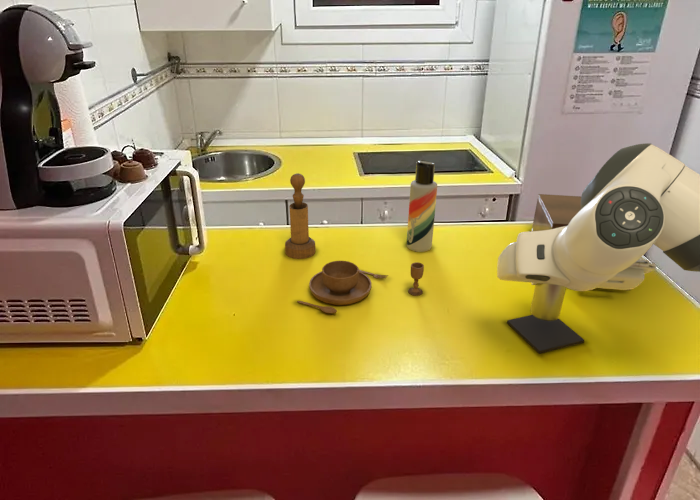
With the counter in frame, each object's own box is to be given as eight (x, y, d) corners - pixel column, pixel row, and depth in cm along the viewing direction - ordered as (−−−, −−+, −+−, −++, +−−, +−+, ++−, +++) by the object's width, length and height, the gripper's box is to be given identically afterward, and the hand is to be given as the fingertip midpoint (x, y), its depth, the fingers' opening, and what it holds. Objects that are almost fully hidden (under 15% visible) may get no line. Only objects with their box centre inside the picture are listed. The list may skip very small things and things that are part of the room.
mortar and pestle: (290, 261, 110) (286, 181, 102) (281, 248, 116) (276, 171, 107) (319, 255, 113) (318, 177, 105) (309, 243, 118) (307, 167, 110)
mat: (548, 313, 94) (549, 310, 94) (584, 342, 86) (584, 339, 86) (506, 323, 91) (506, 320, 91) (539, 354, 84) (539, 351, 84)
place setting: (338, 263, 110) (338, 238, 107) (426, 289, 101) (428, 262, 98) (289, 303, 96) (287, 275, 94) (385, 336, 87) (387, 307, 85)
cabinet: (616, 269, 109) (628, 228, 104) (544, 264, 110) (553, 223, 106) (594, 235, 123) (604, 197, 119) (531, 231, 125) (538, 193, 120)
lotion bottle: (401, 246, 117) (406, 160, 108) (417, 238, 121) (424, 155, 111) (420, 255, 114) (427, 167, 104) (436, 247, 117) (445, 161, 108)
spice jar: (547, 303, 92) (559, 247, 87) (566, 318, 88) (580, 261, 83) (523, 307, 91) (534, 252, 86) (541, 323, 87) (554, 265, 82)
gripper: (660, 241, 72) (620, 268, 85) (508, 231, 74) (491, 259, 87) (663, 285, 70) (621, 306, 83) (507, 273, 72) (490, 295, 85)
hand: (554, 282), depth 85 cm, fingers closed on spice jar, 4 cm apart
